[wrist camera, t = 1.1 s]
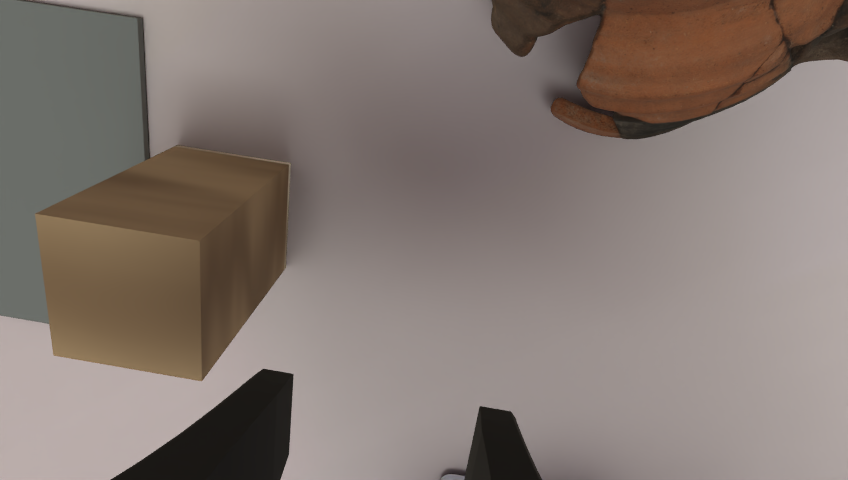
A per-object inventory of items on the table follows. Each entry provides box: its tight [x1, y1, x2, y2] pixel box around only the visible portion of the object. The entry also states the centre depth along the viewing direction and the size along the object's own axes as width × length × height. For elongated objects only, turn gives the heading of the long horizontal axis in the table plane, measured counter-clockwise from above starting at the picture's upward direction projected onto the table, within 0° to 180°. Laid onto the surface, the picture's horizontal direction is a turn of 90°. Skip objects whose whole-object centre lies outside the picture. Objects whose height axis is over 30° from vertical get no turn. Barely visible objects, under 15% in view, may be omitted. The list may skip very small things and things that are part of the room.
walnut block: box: [35, 145, 291, 381], centre depth 18 cm, size 4×4×7 cm
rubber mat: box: [0, 0, 149, 324], centre depth 21 cm, size 12×9×1 cm
